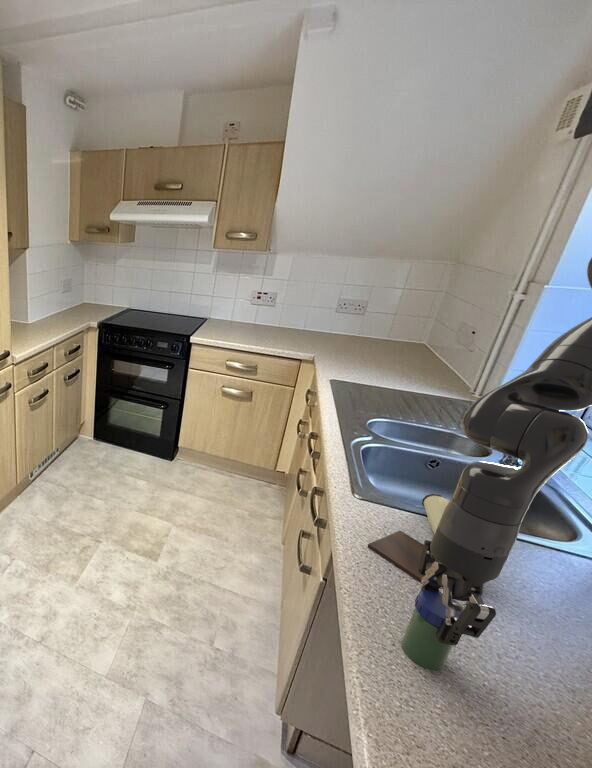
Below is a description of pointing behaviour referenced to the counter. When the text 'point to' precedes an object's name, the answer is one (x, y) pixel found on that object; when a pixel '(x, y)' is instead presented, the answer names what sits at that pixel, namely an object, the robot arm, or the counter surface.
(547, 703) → the counter surface
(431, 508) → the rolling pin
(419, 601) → the lid
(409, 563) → the coaster
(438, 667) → the jar
